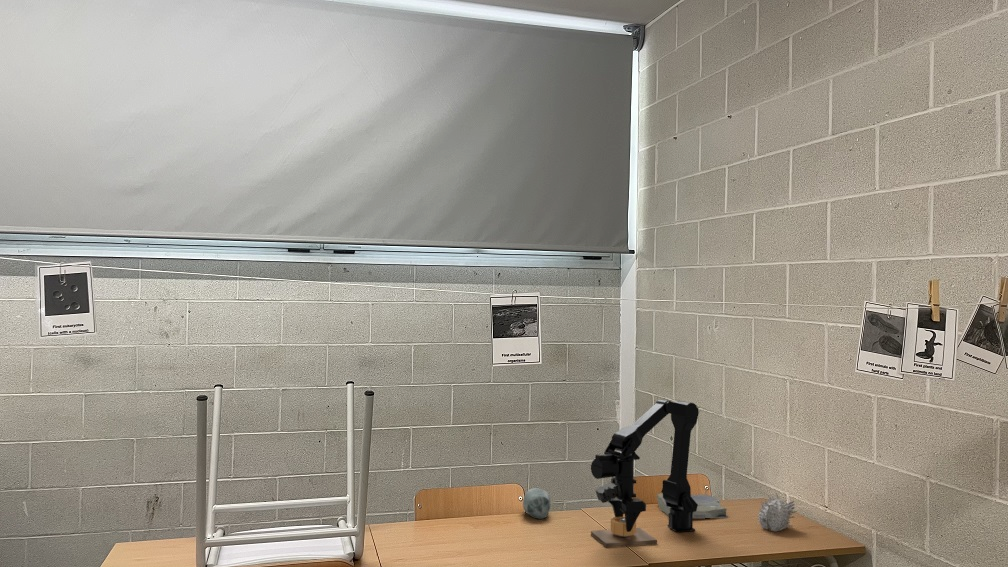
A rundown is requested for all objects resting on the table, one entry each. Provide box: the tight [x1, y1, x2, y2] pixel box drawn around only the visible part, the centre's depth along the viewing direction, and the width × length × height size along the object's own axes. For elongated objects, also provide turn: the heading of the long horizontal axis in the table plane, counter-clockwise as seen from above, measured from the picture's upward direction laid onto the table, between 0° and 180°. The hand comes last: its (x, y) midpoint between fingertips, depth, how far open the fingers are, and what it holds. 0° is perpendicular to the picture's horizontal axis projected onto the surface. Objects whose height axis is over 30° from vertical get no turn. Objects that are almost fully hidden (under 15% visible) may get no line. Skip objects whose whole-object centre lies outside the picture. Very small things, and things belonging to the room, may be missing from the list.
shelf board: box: [590, 527, 658, 549], centre depth 221 cm, size 16×12×1 cm
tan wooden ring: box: [610, 516, 637, 536], centre depth 221 cm, size 7×7×4 cm
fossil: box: [656, 492, 728, 520], centre depth 253 cm, size 22×5×19 cm
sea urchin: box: [756, 492, 798, 532], centre depth 234 cm, size 12×11×12 cm
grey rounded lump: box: [522, 487, 551, 520], centre depth 246 cm, size 14×10×10 cm
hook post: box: [618, 518, 629, 537], centre depth 221 cm, size 4×4×5 cm
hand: (623, 527), depth 221 cm, fingers closed on tan wooden ring, 7 cm apart
